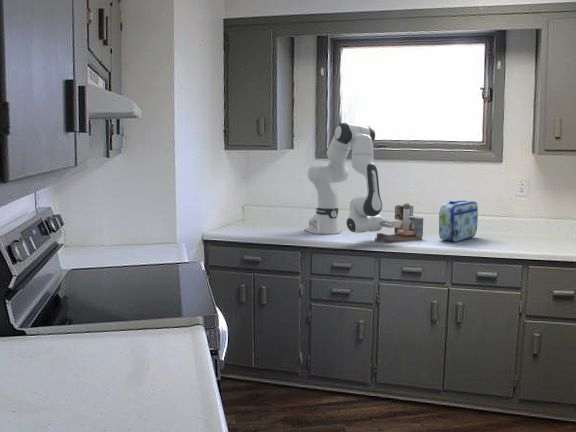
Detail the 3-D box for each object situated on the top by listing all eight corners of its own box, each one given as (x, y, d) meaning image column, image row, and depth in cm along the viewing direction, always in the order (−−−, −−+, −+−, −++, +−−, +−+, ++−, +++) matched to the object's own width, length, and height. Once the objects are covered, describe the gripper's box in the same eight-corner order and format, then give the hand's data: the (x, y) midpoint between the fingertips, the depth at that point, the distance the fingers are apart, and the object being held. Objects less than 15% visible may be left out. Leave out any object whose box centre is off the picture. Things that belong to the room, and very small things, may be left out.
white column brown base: (397, 233, 335) (397, 202, 333) (405, 232, 338) (406, 202, 336) (406, 235, 329) (407, 204, 327) (414, 234, 332) (415, 203, 330)
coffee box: (413, 234, 350) (414, 205, 348) (409, 236, 344) (410, 207, 342) (397, 233, 354) (398, 204, 352) (393, 234, 348) (394, 206, 346)
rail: (374, 240, 329) (374, 218, 327) (409, 236, 342) (410, 215, 341) (386, 243, 321) (387, 221, 319) (422, 239, 334) (423, 217, 332)
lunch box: (453, 243, 321) (455, 203, 318) (435, 241, 329) (437, 201, 326) (479, 237, 339) (481, 199, 336) (461, 235, 347) (463, 197, 344)
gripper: (388, 219, 312) (409, 217, 319) (362, 214, 329) (382, 212, 337) (388, 231, 313) (408, 229, 320) (362, 226, 330) (382, 224, 337)
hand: (395, 220), depth 329 cm, fingers open, 8 cm apart
